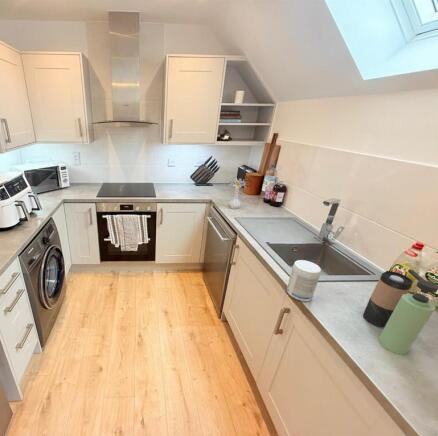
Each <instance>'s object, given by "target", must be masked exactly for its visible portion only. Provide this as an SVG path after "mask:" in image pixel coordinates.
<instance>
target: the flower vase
mask: <svg viewBox="0 0 438 436" xmlns="http://www.w3.org/2000/svg"><path fill="white" fill-rule="evenodd" d="M228 183H229V185H228V187H229V189H231V188H232V187H234V194H233V198H232V199H231V200H230V201H229V203H228V205H229V207H230V209H233V210H238V209H239V208H240V207H241V205H242V203H241V202H240V200H239V192H240V190H241V189H240V188H242V187H244V188H245V189H247V186H246V181H245V179H243V180H242V178H239V179H238V178H237V177H235V178H232V179H231V180H230V181H229V182H228Z"/></svg>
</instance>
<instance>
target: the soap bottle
mask: <svg viewBox="0 0 438 436" xmlns="http://www.w3.org/2000/svg"><path fill="white" fill-rule="evenodd" d="M435 310H436V306H435V305H434V304H433V303H432V302H431V301H430V298H429V297H428V296H426V295H425V294H423V293H420V292H419V293H418V292H413V293H411V294H410V293H407V294H403V295H402V297H401V298H400V300H399V302H398V304H397V306H396V307H395V309H394V311H393V313H392V315H391V316H390V318H389V320H388V322H387V324H386V325H385V327H384V328H382V331H381V333H380V335H379V336H378V338H377V340H378V342H379V344H380V346H382V347H383V348H385V349H386V350H387V351H389V352H391V353H393V354H396V355H401V356H403V355H407V354H408V352H409V350H410V349H411V348H412V346H413V344H414V343H415V341H416V340H417V338H418V336H419V335H420V333H421V332H422V330H423V329H424V328H425V326H426V324H427V322H428V321H429V319H430V318H431V317H432V315H433V314H434V312H435Z"/></svg>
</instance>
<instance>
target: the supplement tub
mask: <svg viewBox="0 0 438 436" xmlns="http://www.w3.org/2000/svg"><path fill="white" fill-rule="evenodd" d="M321 271H322V269H321V267H320V266H319V265H318V264H317V263H314V262H312V261H309V260H304V259H297V260H295V261H294V264H293V265H292V268H291V271H290V272H291V273H290V276H289V279H288V282H287V287H286V293H287V294H288V295H289V296H290V297H291V298H293V299H295V300H297V301H300V302H310V301H311V300H312V299H313V297H314V295H315V291H316V288H317V285H318V284H319V283H318V282H319V280H320V276H321Z"/></svg>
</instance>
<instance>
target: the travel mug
mask: <svg viewBox="0 0 438 436" xmlns="http://www.w3.org/2000/svg"><path fill="white" fill-rule="evenodd" d="M413 284H414V282H413V280H412V279H411V278H410V277H408V276H407V275H405V274H403V273H400V272H397V271H391V270H386V271H384V272H382V273H381V275H380V277H379V279H378V281H377V283H376V285H375V287H374V289H373V291H372V293H371V296H369V299H368V301H367V304H366V306H365V309H364V311H363V314H362V318H363V319H364V320H365V321H366V322H367V323H368V324H370V325H373V326H375V327H377V328H381V329H384V327H385V325H386V324H387V322H388V320H389V318H390V316H391V315H392V313H393V311H394V309H395V307H396V306H397V304H398V302H399V300H400V298H401V297H402V295H403V294H409V291H410V289H411V287H412V285H413Z"/></svg>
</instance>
